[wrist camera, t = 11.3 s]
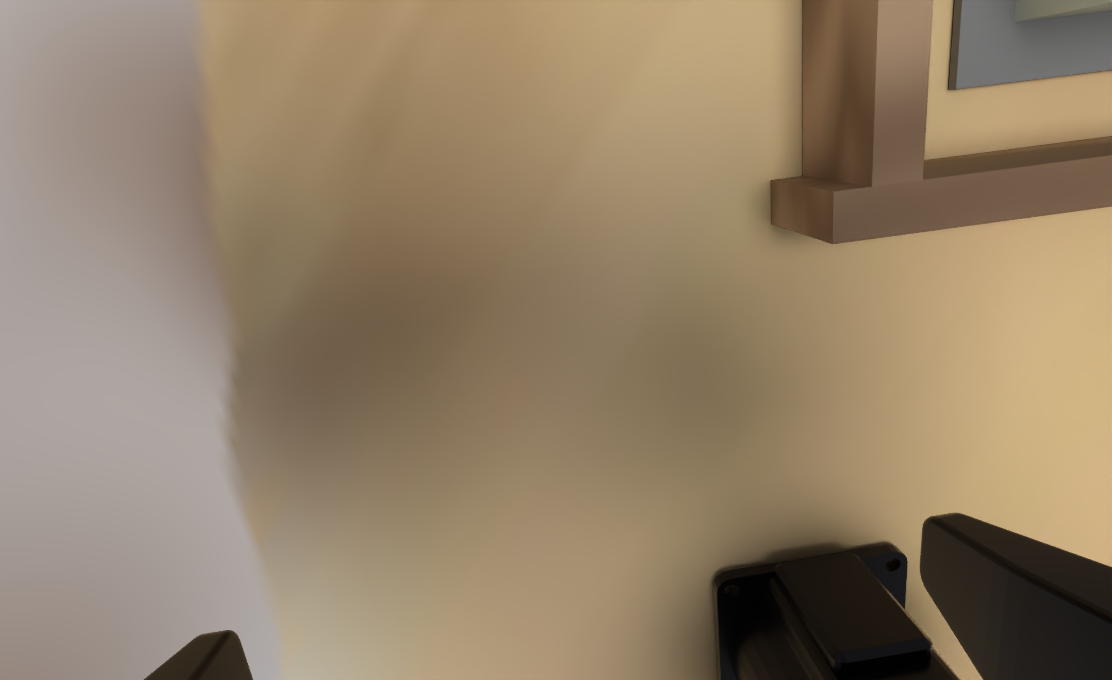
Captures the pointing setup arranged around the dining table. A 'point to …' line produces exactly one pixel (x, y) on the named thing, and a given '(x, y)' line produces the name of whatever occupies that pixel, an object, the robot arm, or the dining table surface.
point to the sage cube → (1058, 8)
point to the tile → (1024, 44)
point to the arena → (907, 140)
